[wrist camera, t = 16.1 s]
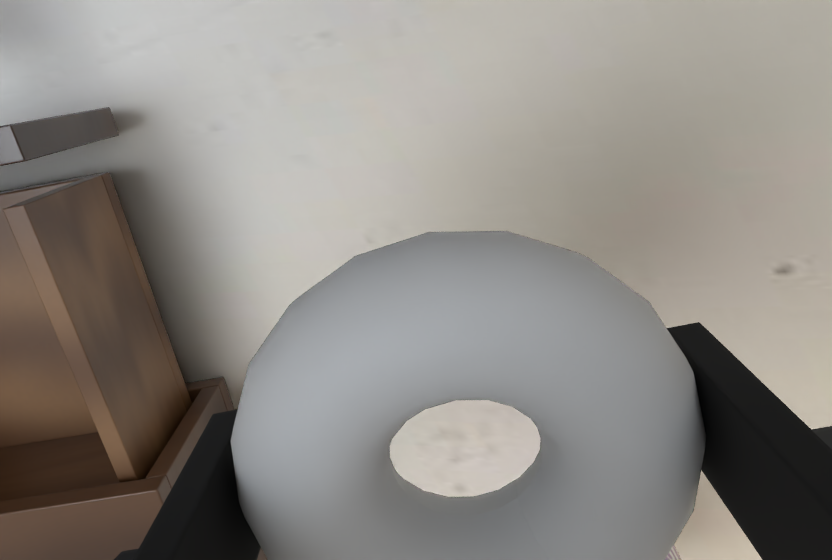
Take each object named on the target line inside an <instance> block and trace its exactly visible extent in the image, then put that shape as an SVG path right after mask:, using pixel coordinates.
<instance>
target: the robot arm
mask: <svg viewBox="0 0 832 560" xmlns="http://www.w3.org/2000/svg"><path fill="white" fill-rule="evenodd" d="M667 330H668V331H669V333H670V334H671V336H672V337H673V339H674V340H675V342H676V343H677V345H678V346H679V348H680V349H681V351H682V352H683V354H684V355H685V357H686V359H687V361H688V363H689V365H690V367H691V369H692V371H693V373H694V377H695V382H696V387H697V392H698V397H699V402H700V407H701V412H702V417H703V422H704V427H705V432H706V442H705V452H704V457H703V462H702V468H701V470H702V471H703V473H704V474H705V476H706V477H707V479H708V480H709V482H710V483H711V485H712V486H713V488H714V489H715V490H716V492H717V493H718V495H719V496H720V498H721V499H722V501H723V502H724V504H725V505H726V507H727V508H728V510H729V511H730V512H731V514H732V515H733V517H734V518H735V520H736V521H737V523H738V524H739V526H740V527H741V529H742V530H743V532H744V533H745V534H746V536H747V537H748V539H749V540H750V542H751V543H752V545H753V546H754V548H755V549H756V551H757V552H758V554H759V555H760V556H761V558H762V559H763V560H832V426H830V427H824V428H818V429H812V430H811V429H810V428H809V427H808V426H807V425H806V424H805V423H804V422H803V421H802V420H801V419H800V418H799V417H797V416H796V415H795V414H794V413H793V412H792V411H791V410H790V409H789V408H788V407H787V406H786V405H785V404H784V403H783V402H782V401H781V400H780V399H779V398H778V397H777V396H776V395H775V394H773V393H772V392H771V391H770V390H769V389H768V388H767V387H766V386H765V385H764V384H763V383H762V382H761V381H760V380H759V379H758V378H757V377H756V376H755V375H754V374H753V373H752V372H751V371H749V370H748V369H747V368H746V367H745V366H744V365H743V364H742V363H741V362H740V361H739V360H738V359H737V358H736V357H735V356H734V355H733V354H732V353H731V352H730V351H729V350H728V349H727V348H726V347H724V346H723V345H722V344H721V343H720V342H719V341H718V340H717V339H716V338H715V337H714V336H713V335H712V334H711V333H710V332H709V331H708V330H707V329H706V328H705V327H704V326H703V325H702V324H700V323H699V322H698V323H693V324H687V325H682V326H677V327H671V328H667ZM237 410H238V409H237ZM237 410H231V411H226V412H221V413H216V414H213V415H212V416H211V418H210V420H209V422H208V424H207V425H206V427H205V429H204V431H203V433H202V435H201V436H200V438H199V440H198V442H197V444H196V445H195V447H194V449H193V451H192V453H191V455H190V456H189V458H188V460H187V462H186V464H185V465H184V467H183V469H182V471H181V473H180V474H179V476H178V478H177V480H176V482H175V484H174V485H173V487H172V489H171V491H170V493H169V494H168V496H167V498H166V500H165V502H164V504H163V505H162V507H161V509H160V511H159V513H158V514H157V516H156V518H155V520H154V522H153V523H152V525H151V527H150V529H149V531H148V533H147V534H146V536H145V538H144V540H143V542H142V543H141V545H140V547H139V548H138V549H133V550H127V551H122V552H121V553H120V554H119V555H118V556H117V557H116V558H115V559H114V560H257V558H258V555H259V552H260V548H261V546H260V544H259V543H258V541H257V539H256V537H255V535H254V533H253V532H252V530H251V528H250V526H249V524H248V522H247V521H246V519H245V517H244V514H243V512H242V509H241V506H240V503H239V498H238V491H237V484H236V477H235V469H234V462H233V455H232V448H231V437H232V432H233V426H234V422H235V418H236V414H237Z"/></svg>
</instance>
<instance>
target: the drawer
mask: <svg viewBox="0 0 832 560" xmlns="http://www.w3.org/2000/svg"><path fill="white" fill-rule="evenodd" d="M118 135H119V132H118V129H117V127H116V124H115V121H114V118H113V115H112V112H111V109H110V108H109V107H107V108H101V109H95V110H90V111H84V112H78V113H73V114H67V115H61V116H55V117H50V118H44V119H38V120H33V121H27V122H21V123H15V124H10V125H5V126H0V166H2V165H8V164H13V163H18V162H23V161H27V160H31V159H35V158H38V157H42V156H45V155H49V154H53V153H56V152H60V151H63V150H67V149H71V148H74V147H78V146H82V145H85V144H89V143H92V142H96V141H100V140H103V139H107V138H111V137H114V136H118ZM191 405H192V402H191V399H190V396H189V393H188V390H187V388H186V385H185V382H184V379H183V376H182V374H181V371H180V368H179V365H178V363H177V360H176V357H175V354H174V351H173V349H172V346H171V343H170V340H169V337H168V335H167V332H166V329H165V326H164V323H163V321H162V318H161V315H160V312H159V310H158V307H157V304H156V301H155V298H154V296H153V293H152V290H151V287H150V284H149V282H148V279H147V276H146V273H145V270H144V268H143V265H142V262H141V259H140V256H139V254H138V251H137V248H136V245H135V243H134V240H133V237H132V234H131V231H130V229H129V226H128V223H127V220H126V217H125V215H124V212H123V209H122V206H121V203H120V201H119V198H118V195H117V192H116V189H115V187H114V184H113V181H112V178H111V176H110V173H108V172H105V173H100V174H95V175H89V176H84V177H79V178H74V179H68V180H63V181H58V182H52V183H47V184H42V185H36V186H31V187H26V188H20V189H15V190H10V191H5V192H0V501H6V500H13V499H19V498H26V497H32V496H38V495H45V494H51V493H57V492H64V491H70V490H77V489H83V488H89V487H96V486H102V485H109V484H115V483H121V482H128V481H134V480H140V479H146V476H147V475H148V473H149V471H150V470H151V468H152V467H153V465H154V464H155V462H156V460H157V459H158V457H159V456H160V454H161V452H162V451H163V449H164V448H165V446H166V445H167V443H168V441H169V440H170V438H171V437H172V435H173V434H174V432H175V430H176V429H177V427H178V426H179V424H180V422H181V421H182V419H183V418H184V416H185V415H186V413H187V411H188V410H189V408H190V407H191Z"/></svg>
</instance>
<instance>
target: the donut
mask: <svg viewBox="0 0 832 560" xmlns="http://www.w3.org/2000/svg"><path fill="white" fill-rule="evenodd" d="M455 400H490V401H494V402H498V403H501V404H505V405H509V406H512V407H514V408H515V409H517V410H518V411H520V412H521V413H523V414H525V415H526V416H528V417H529V418H531V420H532V421H533V422H534V424H535V425H536V426H537V427H538V431H539V434H540V437H541V442H540V450H539V453H538V455H537V457H536V459H535V461H534V463H533V464H532V465H531V466H530V467H529V468H528V469H527V470H526V471H525V472H524V473H523V474H522V475H521V477H519V478H518V479H516V480H514V481H513V482H511V483H509V484H508V485H506V486H504V487H502V488H501V489H499V490H496V491H493V492H489V493H485V494H482V495H478V496H474V497H446V496H442V495H438V494H434V493H430V492H426V491H423V490H422V489H420V488H418V487H416V486H415V485H413V484H411V483H409V482H408V481H406V480H404V479H403V478H402V477H401V476H400V475H399V474H398V473H397V472H396V470H395V468H394V466H393V464H392V461H391V459H390V447H389V446H390V443H391V440H392V438H393V437H394V436H395V434H396V433H397V432H398V431H399V430H400V428H401V427H402V426H403V425H404V423H405V422H406V421H407V420H409V419H410V418H412V417H413V416H415V415H416V414H418V413H420V412H421V411H423V410H424V409H427V408H431V407H434V406H438V405H441V404H444V403H448V402H451V401H455ZM705 442H706V432H705V427H704V422H703V417H702V412H701V407H700V402H699V397H698V392H697V387H696V382H695V377H694V373H693V371H692V369H691V367H690V365H689V363H688V361H687V359H686V357H685V355H684V354H683V352H682V351H681V349H680V348H679V346H678V345H677V343H676V342H675V340H674V339H673V337H672V336H671V334H670V333H669V331H668V330H667V328H666V327H665V325H664V324H663V322H662V321H661V319H660V318H659V316H658V315H657V313H656V311H655V310H654V308H653V307H652V305H651V304H650V302H649V301H648V300H646V299H645V298H643V297H642V296H641V295H639V294H638V293H636V292H635V291H634V290H632V289H631V288H630V287H628V286H627V285H625V284H624V283H623V282H621V281H620V280H619V279H617V278H616V277H614V276H613V275H612V274H610V273H609V272H607V271H606V270H605V269H603V268H602V267H601V266H599V265H598V264H596V263H595V262H594V261H592V260H591V259H590V258H588V257H586V256H584V255H582V254H580V253H577V252H574V251H571V250H567V249H564V248H561V247H558V246H554V245H551V244H548V243H545V242H541V241H538V240H535V239H531V238H528V237H525V236H522V235H518V234H515V233H512V232H509V231H471V232H427V233H424V234H421V235H418V236H415V237H412V238H409V239H406V240H403V241H400V242H397V243H394V244H390V245H387V246H384V247H381V248H378V249H375V250H372V251H369V252H366V253H363V254H360V255H357V256H355V257H353V258H352V259H351V260H349V261H348V262H346V263H345V264H344V265H342V266H341V267H340V268H338V269H337V270H335V271H334V272H333V273H331V274H330V275H328V276H327V277H326V278H324V279H323V280H322V281H320V282H319V283H317V284H316V285H315V286H313V287H312V288H311V289H309V290H308V291H306V292H305V293H304V294H302V295H301V296H300V297H298V298H297V299H296V300H295V301H294V302H292V303H291V304H290V305H289V306H288V308H287V309H286V311H285V312H284V314H283V315H282V316H281V318H280V319H279V321H278V322H277V324H276V325H275V327H274V328H273V329H272V331H271V332H270V334H269V335H268V337H267V338H266V340H265V341H264V343H263V344H262V345H261V347H260V348H259V350H258V351H257V353H256V354H255V356H254V357H253V358H252V360H251V361H250V363H249V365H248V369H247V373H246V377H245V381H244V385H243V390H242V394H241V398H240V402H239V406H238V410H237V414H236V418H235V422H234V426H233V432H232V437H231V448H232V455H233V462H234V469H235V477H236V484H237V491H238V498H239V503H240V506H241V509H242V512H243V514H244V517H245V519H246V521H247V522H248V524H249V526H250V528H251V530H252V532H253V533H254V535H255V537H256V539H257V541H258V543H259V544H260V546H261V548H262V550H263V552H264V553H265V555H266V557H267V559H268V560H665V558H666V557H667V555H668V553H669V552H670V550H671V548H672V547H673V545H674V543H675V541H676V540H677V538H678V536H679V535H680V533H681V531H682V529H683V528H684V526H685V524H686V523H687V521H688V519H689V518H690V516H691V514H692V512H693V511H694V506H695V500H696V495H697V489H698V484H699V479H700V473H701V468H702V462H703V457H704V452H705Z"/></svg>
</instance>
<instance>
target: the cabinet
mask: <svg viewBox="0 0 832 560" xmlns="http://www.w3.org/2000/svg"><path fill="white" fill-rule="evenodd" d="M185 385H186V388H187V390H188V393H189V396H190V399H191V402H192V405H191V407H190V408H189V410H188V411H187V413H186V415H185V416H184V418H183V419H182V421H181V422H180V424H179V426H178V427H177V429H176V430H175V432H174V434H173V435H172V437H171V438H170V440H169V441H168V443H167V445H166V446H165V448H164V449H163V451H162V452H161V454H160V456H159V457H158V459H157V460H156V462H155V464H154V465H153V467H152V468H151V470H150V471H149V473H148V475H147V476H146V479H140V480H134V481H128V482H121V483H115V484H109V485H102V486H96V487H89V488H83V489H77V490H70V491H64V492H57V493H51V494H45V495H38V496H32V497H26V498H19V499H13V500H6V501H0V560H114V559H115V558H116V557H117V556H118V555H119V554H120V553H121V552H122V551H127V550H133V549H138V548H139V547H140V545H141V543H142V542H143V540H144V538H145V536H146V534H147V533H148V531H149V529H150V527H151V525H152V523H153V522H154V520H155V518H156V516H157V514H158V513H159V511H160V509H161V507H162V505H163V504H164V502H165V500H166V498H167V496H168V494H169V493H170V491H171V489H172V487H173V485H174V484H175V482H176V480H177V478H178V476H179V474H180V473H181V471H182V469H183V467H184V465H185V464H186V462H187V460H188V458H189V456H190V455H191V453H192V451H193V449H194V447H195V445H196V444H197V442H198V440H199V438H200V436H201V435H202V433H203V431H204V429H205V427H206V425H207V424H208V422H209V420H210V418H211V416H212V415H213V414H216V413H221V412H226V411H231V410H234V407H233V404H232V401H231V398H230V395H229V392H228V389H227V386H226V383H225V380H224V378H223V377H221V378H215V379H209V380H203V381H197V382H191V383H185ZM257 560H268V559H267V557H266V555H265V553H264V552H263V550H262V548H260V552H259V555H258V558H257Z"/></svg>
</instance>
